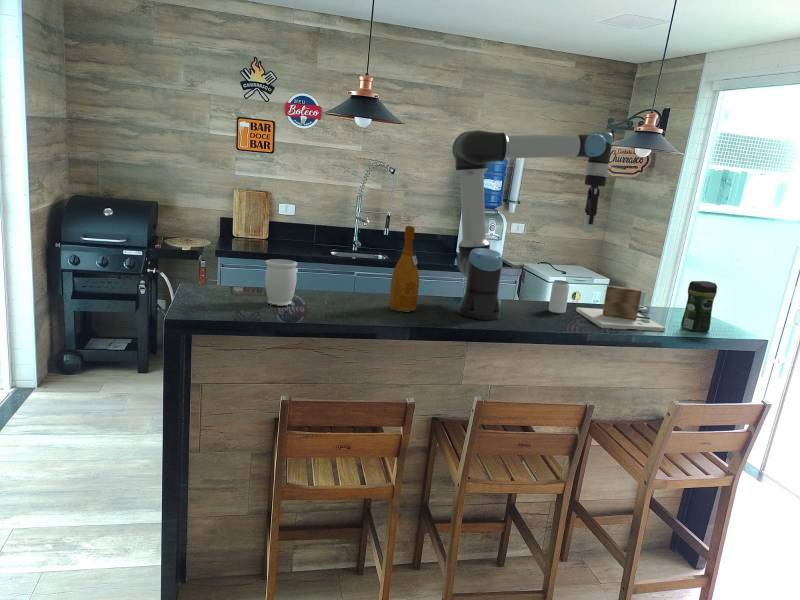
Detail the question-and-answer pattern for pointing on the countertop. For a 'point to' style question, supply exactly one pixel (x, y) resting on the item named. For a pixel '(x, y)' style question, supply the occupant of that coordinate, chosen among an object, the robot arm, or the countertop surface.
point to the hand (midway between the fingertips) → (587, 231)
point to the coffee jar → (699, 306)
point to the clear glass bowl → (642, 301)
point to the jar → (280, 281)
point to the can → (559, 296)
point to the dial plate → (618, 320)
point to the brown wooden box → (622, 302)
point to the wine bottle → (405, 277)
